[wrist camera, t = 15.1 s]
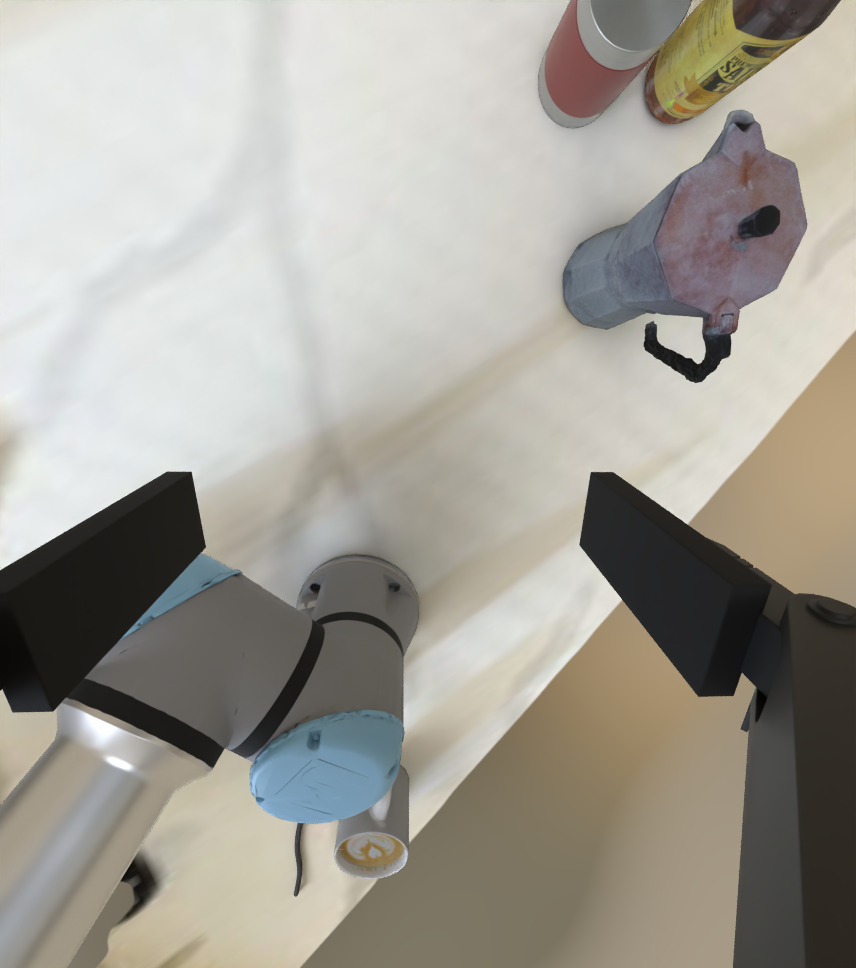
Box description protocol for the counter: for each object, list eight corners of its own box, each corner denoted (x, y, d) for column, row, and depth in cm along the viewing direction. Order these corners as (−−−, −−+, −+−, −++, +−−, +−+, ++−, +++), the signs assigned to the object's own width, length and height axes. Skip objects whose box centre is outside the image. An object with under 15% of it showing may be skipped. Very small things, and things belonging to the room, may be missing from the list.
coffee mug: (393, 808, 68) (390, 885, 59) (335, 792, 66) (322, 869, 57) (428, 753, 64) (432, 827, 55) (368, 735, 62) (360, 807, 53)
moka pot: (656, 185, 39) (881, 55, 20) (653, 355, 45) (830, 375, 26) (554, 204, 39) (686, 93, 21) (564, 371, 45) (675, 402, 26)
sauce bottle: (651, 142, 38) (884, -36, 19) (632, 62, 36) (871, -224, 17) (722, 104, 37) (1035, -120, 19) (707, 19, 35) (1041, -327, 17)
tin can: (609, 130, 38) (685, 55, 27) (533, 127, 37) (580, 51, 27) (623, 29, 35) (711, -95, 25) (541, 25, 35) (596, -102, 25)
